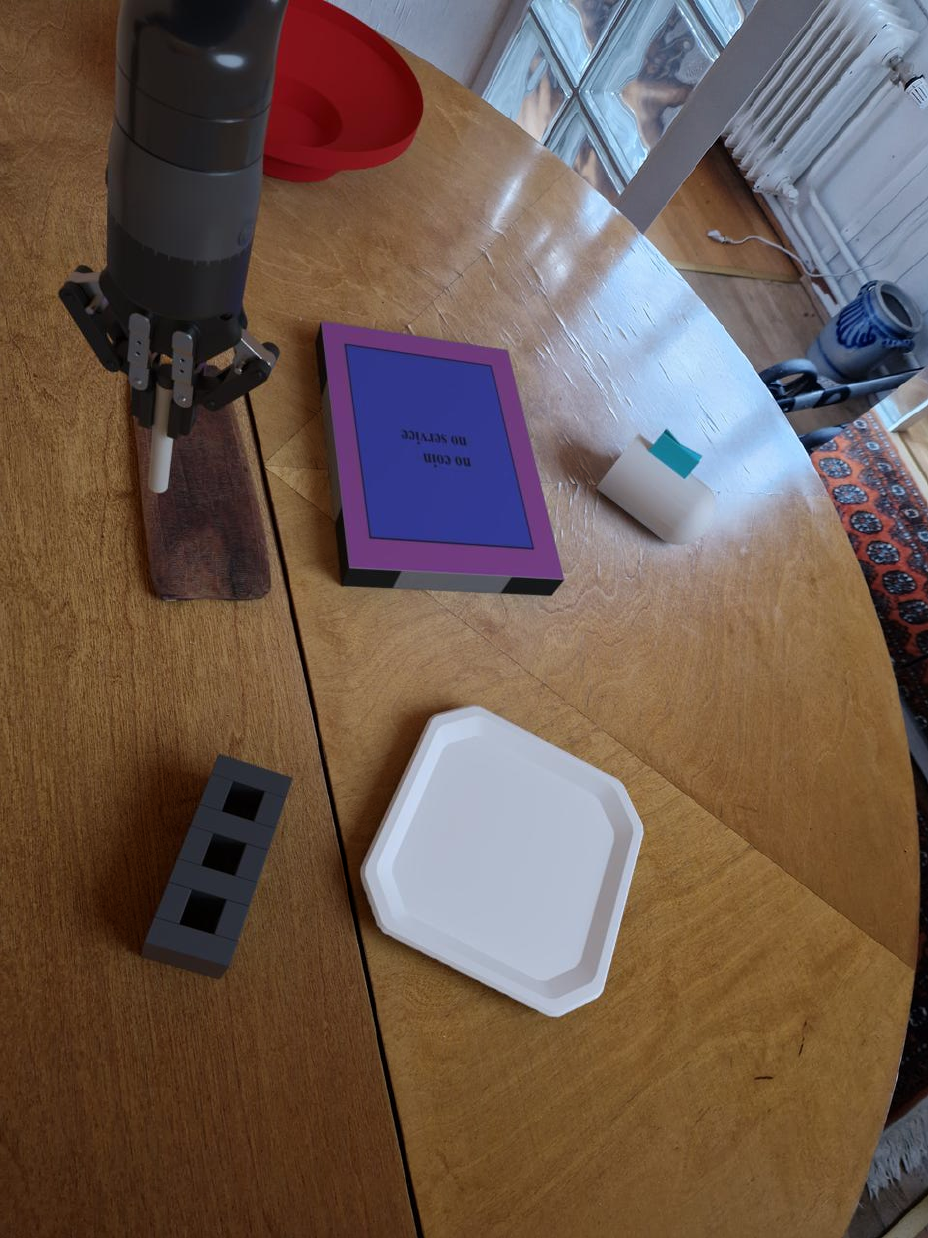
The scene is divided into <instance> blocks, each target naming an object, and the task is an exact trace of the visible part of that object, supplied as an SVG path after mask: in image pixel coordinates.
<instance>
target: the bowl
mask: <svg viewBox="0 0 928 1238" xmlns="http://www.w3.org/2000/svg"><path fill="white" fill-rule="evenodd" d="M424 107H425V106H424V96H423V92H422V89H421V86H420V83H419V81H418V78H417V77H416V75H415V73H414V71H413V70H412V69H411V67H410V66H409V64H408V62H407V61H406V60H405V59H404V57H403V56H402V55H401V54H400V53H399V52H398V50H396V48H394V46H392V45H391V43H390V42H388V41H387V40H386V39H385V38H384V37H383V36H382V35H380V34H379V33H378V31H376V30H374V29H373V28H372V27H371V26H369V25H368V24H366V23H364V22H363V21H362V20H360V19H359V18H357V17H355V16H354V15H353V14H351V13H349V12H348V11H346V10H344V9H343V8H340V7H338V6H337V5H336V4H333V3H331V2H329V1H327V0H289V2H288V5H287V8H286V12H285V15H284V19H283V23H282V28H281V34H280V40H279V46H278V53H277V61H276V74H275V83H274V90H273V98H272V103H271V109H270V115H269V121H268V127H267V133H266V139H265V144H264V153H263V174H264V175H267V176H270V177H272V178H275V179H280V180H285V181H288V182H289V181H290V182H293V183H312V182H313V183H314V182H315V183H316V182H321V181H324V180H327V179H329V178H331V177H333V176H334V175H336V174H338V172H339V171H359V170H366V169H371V168H376V167H380V166H383V165H385V164H388V163H391V162H392V161H394V160H395V159H397V158H399V157H400V156H402V155H403V154H404V153H405V152H406V151H407V149H409V148H410V146H411V144H413V143H412V142H413V141H414V139H415V136H416V134H417V131H418V129H419V127H420V123H421V121H422V119H423V114H424Z"/></svg>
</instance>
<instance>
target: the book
mask: <svg viewBox="0 0 928 1238" xmlns="http://www.w3.org/2000/svg"><path fill="white" fill-rule="evenodd" d="M314 344H315V353H316V362H317V372H318V380H319V390H320V401H321V408H322V409H321V410H322V417H323V419H322V420H323V428H324V438H325V446H326V455H327V464H328V474H329V483H330V484H329V485H330V492H331V493H330V494H331V499H332V500H331V501H332V510H333V511H332V512H333V520H334V521H333V522H334V530H335V539H336V548H337V557H338V567H339V575H340V577H339V578H340V585H341V587H351V588H374V589H392V590H393V589H396V590H417V591H435V592H437V591H439V592H458V593H459V592H462V593H478V594H479V593H481V594H503V595H526V596H542V597H543V596H544V597H545V596H547V597H552V596H553V594H554V593H555V592H556V591H557V590H558V588H559V587H560V586H561V585H562V584H563V582H564V581H565V577H564V573H563V569H562V564H561V560H560V556H559V552H558V547H557V543H556V540H555V536H554V535H555V534H554V531H553V528H552V527H553V526H552V523H551V520H550V519H551V518H550V515H549V511H548V507H547V503H546V499H545V495H544V491H543V486H542V482H541V478H540V475H539V470H538V467H537V463H536V459H535V453H534V450H533V446H532V442H531V438H530V434H529V429H528V426H527V421H526V417H525V413H524V408H523V406H522V402H521V397H520V393H519V389H518V385H517V381H516V377H515V373H514V368H513V366H512V365H513V364H512V361H511V357H510V352H509V350H508V349H503V348H498V347H497V348H496V347H491V346H486V345H479V344H478V345H477V344H472V343H465V342H459V341H453V340H448V339H441V338H440V339H439V338H434V337H428V336H421V335H416V334H408V333H402V332H395V331H389V330H382V329H378V328H377V329H376V328H370V327H365V326H357V325H353V324H352V325H351V324H345V323H338V322H332V321H325V320H320V324H319V327H318V331H317V335H316V338H315V342H314Z"/></svg>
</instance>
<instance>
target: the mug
mask: <svg viewBox="0 0 928 1238" xmlns="http://www.w3.org/2000/svg"><path fill="white" fill-rule="evenodd" d="M702 458H703V455H702V454H700V453H699V452H696V451H695V450H692V449H691V448H689V447H687V446H686V445H684V444H682V443H681V442H680V441H679V440H678V438H676V437H675V435H674V434H673V433H672V432H671V431H670V430H669V428H668V427H666V429H664V431H663V432H662V433H661V435H660V436H659V437H658V438H657V439H656V441H655V442H654V443H652V441H649V440H648V439H647V438H646V437H645V436H643V435H642V434H641V433H638V434H636V436H634V438H633V439H632V441H631V442H630V443H629V444H628V446H627V447H626V448H625V450H623V452H622V453H621V454H620V455H619V457H618V458H617V460H616V461H615V462H614V464H613V465H612V466H611V467H610V468H609V470H608V471H607V473H606V474H605V475H604V477H603V478H602V479H601V480H600V482H599V483H598V484H597V486H596V490H598V491H599V492H600V493H601V494H603V495H604V496H606V497H607V498H608V499H610V500H611V501H612V502H613V503H615V504H616V505H617V506H619V507H620V508H621V509H622V510H623V511H625V512H626V513H627V514H629V515H630V516H632V517H633V518H634V519H635V520H637V521H638V522H639V523H641V524H642V525H643V526H644V527H646V528H647V529H648V530H650V531H651V532H652V533H654V534H655V535H656V536H657V537H658V538H660V539H661V540H662V541H664V542H666V543H668V544H671V545H676V546H680V545H681V546H682V545H688V544H690V543H693V542H695V541H696V540H698V539H699V538H701V537H702V536H703V535H705V534H706V533H707V531H708V530H709V529H710V527H711V526H712V524H713V522H714V521H715V518H716V515H717V499H716V496H715V493H714V491H713V490H712V489H711V487H710V486H709V485H707V484H706V483H705V482H703V481H702V480H701V479H699V478H698V477H696V476H695V475H694V474H693V473H692V472H693V470H694V469H695V468H696V467H697V466H698V465H699V464H700V460H701V459H702Z"/></svg>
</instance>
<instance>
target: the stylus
mask: <svg viewBox="0 0 928 1238" xmlns="http://www.w3.org/2000/svg"><path fill="white" fill-rule="evenodd" d="M173 391H174V380H173V379H172V363H165V364H162V365H160V366H159V367H158V369H157V381H156V394H155V406H154V418H153V430H152V442H151V454H150V466H149V479H148V487H149V489H150V490H151V491H153V492H155V493H162V492H164V491H166V490H167V488H168V480H169V471H170V462H171V453H172V444H173V439H172V438H169V437H167V429H168V419H169V409H170V402H171V400H172V398H173Z"/></svg>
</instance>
